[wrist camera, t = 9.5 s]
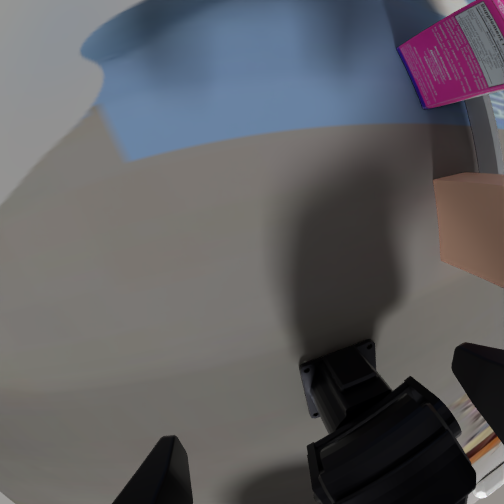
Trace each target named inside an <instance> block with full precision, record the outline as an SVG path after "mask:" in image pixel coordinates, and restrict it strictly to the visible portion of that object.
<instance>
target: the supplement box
mask: <svg viewBox="0 0 504 504" xmlns="http://www.w3.org/2000/svg"><path fill="white" fill-rule="evenodd" d="M397 51H398V53H399V55H400V57H401V59H402V61H403V63H404V65H405V67H406V69H407V71H408V73H409V76H410V78H411V80H412V83H413V85H414V87H415V90H416V92H417V95H418V97H419V100H420V103H421V105H422V108H423V109H430V108H435V107H439V106H443V105H448V104H452V103H455V102H459V101H463V100H467V99H471V98H475V97H479V96H483V95H486V94H491V93H495V92H499V91H504V0H476V1H474V2H472V3H470V4H468V5H467V6H465V7H463V8H461V9H459V10H458V11H456V12H454V13H452V14H451V15H449V16H447V17H445V18H444V19H442V20H440V21H439V22H437V23H435V24H434V25H432V26H430V27H429V28H427V29H425V30H424V31H422V32H421V33H419V34H417V35H416V36H414V37H413V38H411V39H410V40H408V41H407V42H405V43H404V44H402V45H400V46H399V47H397Z"/></svg>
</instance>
